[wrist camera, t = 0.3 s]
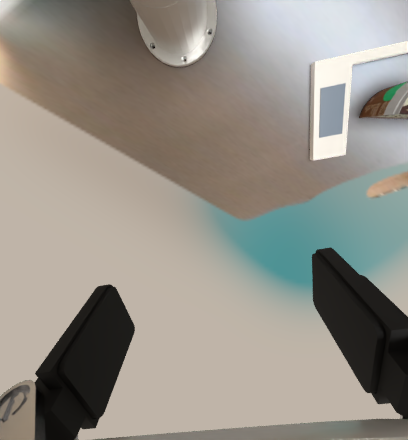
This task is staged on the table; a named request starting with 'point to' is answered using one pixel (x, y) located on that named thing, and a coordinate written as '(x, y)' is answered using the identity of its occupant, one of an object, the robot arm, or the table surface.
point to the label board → (337, 98)
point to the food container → (388, 104)
